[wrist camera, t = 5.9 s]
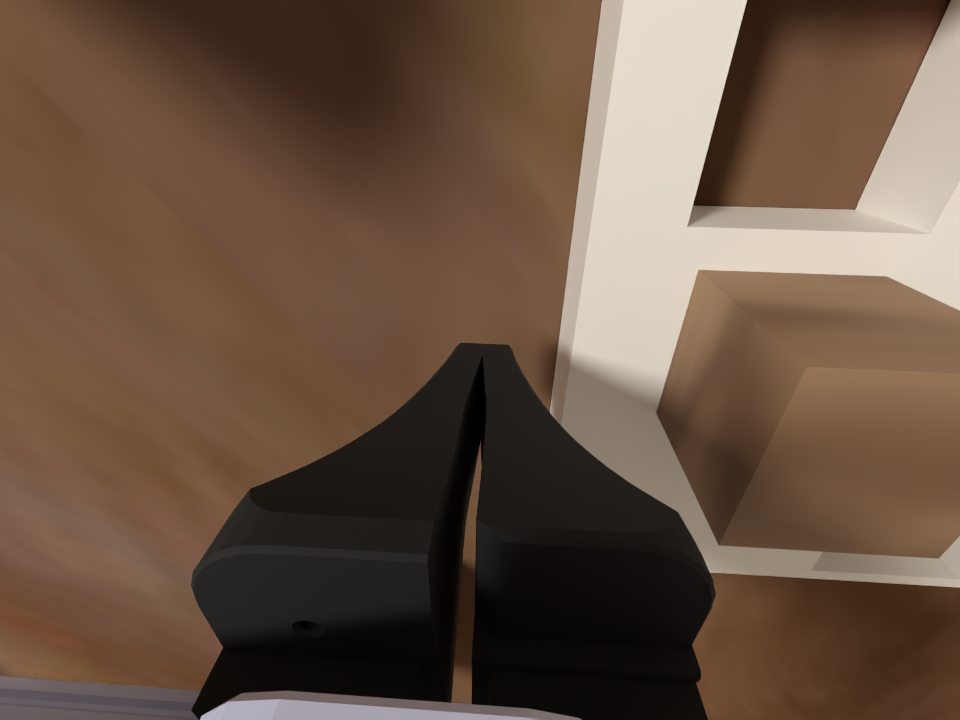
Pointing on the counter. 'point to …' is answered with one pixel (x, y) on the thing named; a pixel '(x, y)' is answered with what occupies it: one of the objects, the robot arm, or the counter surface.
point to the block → (818, 412)
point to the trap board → (726, 248)
